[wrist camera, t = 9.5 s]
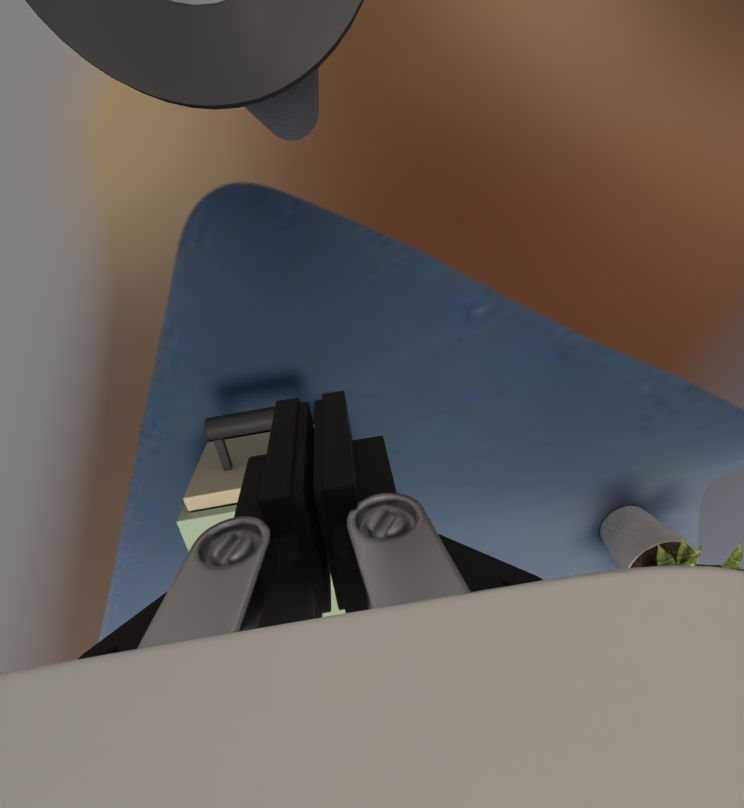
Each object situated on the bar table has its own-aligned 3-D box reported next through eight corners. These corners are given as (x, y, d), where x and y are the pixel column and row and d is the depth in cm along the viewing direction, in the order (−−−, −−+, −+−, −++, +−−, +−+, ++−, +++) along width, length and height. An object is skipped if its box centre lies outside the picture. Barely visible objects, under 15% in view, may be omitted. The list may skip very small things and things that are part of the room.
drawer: (190, 396, 38) (161, 445, 31) (331, 372, 39) (333, 416, 32) (247, 561, 46) (234, 630, 39) (364, 540, 46) (371, 605, 39)
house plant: (729, 483, 49) (904, 614, 34) (658, 582, 54) (783, 732, 39) (611, 454, 46) (748, 584, 31) (548, 562, 51) (640, 716, 36)
